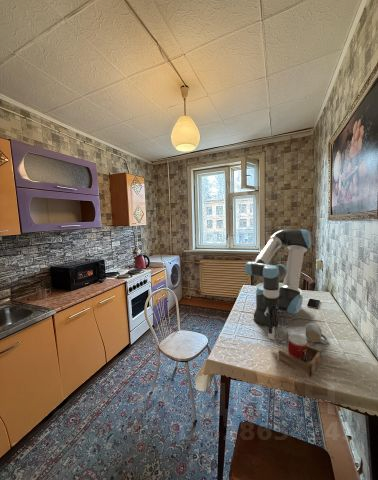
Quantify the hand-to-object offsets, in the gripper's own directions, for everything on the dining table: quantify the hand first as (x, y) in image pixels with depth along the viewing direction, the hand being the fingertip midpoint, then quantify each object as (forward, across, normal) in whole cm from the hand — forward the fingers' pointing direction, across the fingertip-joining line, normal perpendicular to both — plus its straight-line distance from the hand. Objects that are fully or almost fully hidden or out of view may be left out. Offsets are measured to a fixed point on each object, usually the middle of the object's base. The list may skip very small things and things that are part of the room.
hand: (271, 337), depth 108 cm
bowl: (+7, -47, -18) cm, 51 cm away
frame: (+5, +1, +14) cm, 15 cm away
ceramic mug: (+6, -23, +14) cm, 28 cm away
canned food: (+5, +2, +14) cm, 15 cm away
